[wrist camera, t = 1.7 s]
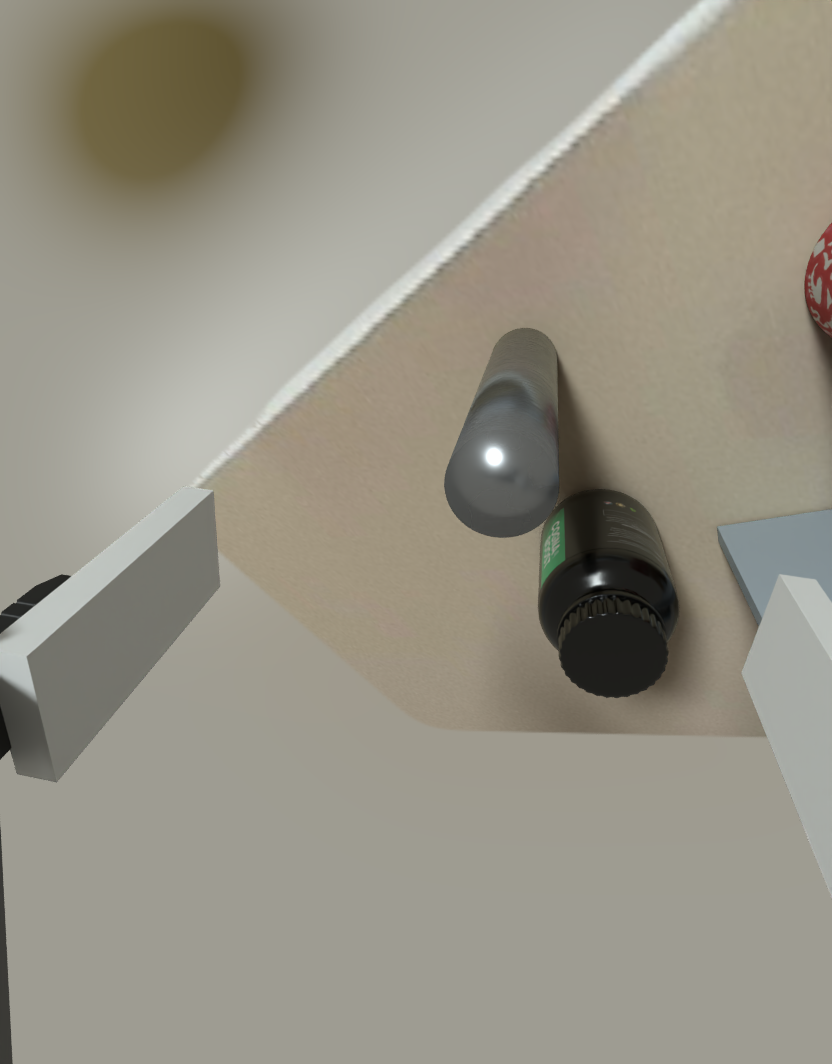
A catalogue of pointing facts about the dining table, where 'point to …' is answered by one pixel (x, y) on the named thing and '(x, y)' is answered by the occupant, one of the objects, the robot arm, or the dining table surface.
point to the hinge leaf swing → (778, 553)
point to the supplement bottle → (606, 593)
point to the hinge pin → (509, 441)
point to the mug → (820, 282)
